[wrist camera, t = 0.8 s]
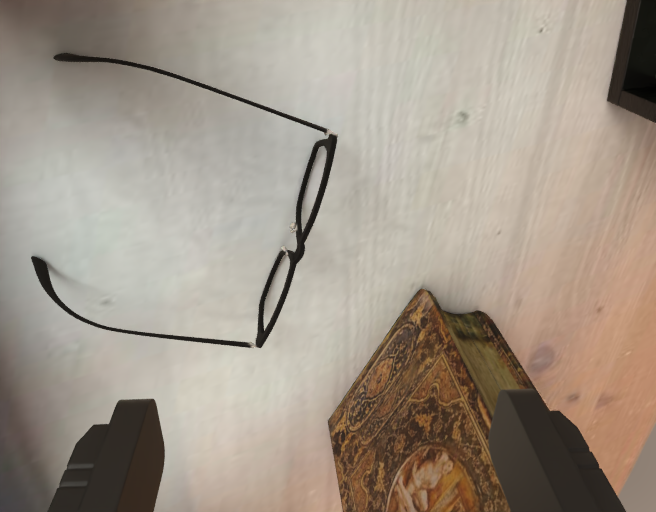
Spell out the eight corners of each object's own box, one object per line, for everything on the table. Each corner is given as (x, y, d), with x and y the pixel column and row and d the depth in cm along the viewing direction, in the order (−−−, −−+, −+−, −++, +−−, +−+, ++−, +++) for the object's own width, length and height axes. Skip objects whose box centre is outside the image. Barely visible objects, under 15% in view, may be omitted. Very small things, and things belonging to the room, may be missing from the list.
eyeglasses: (264, 325, 40) (266, 362, 36) (29, 279, 35) (6, 316, 32) (341, 111, 32) (352, 131, 29) (57, 20, 28) (32, 31, 25)
